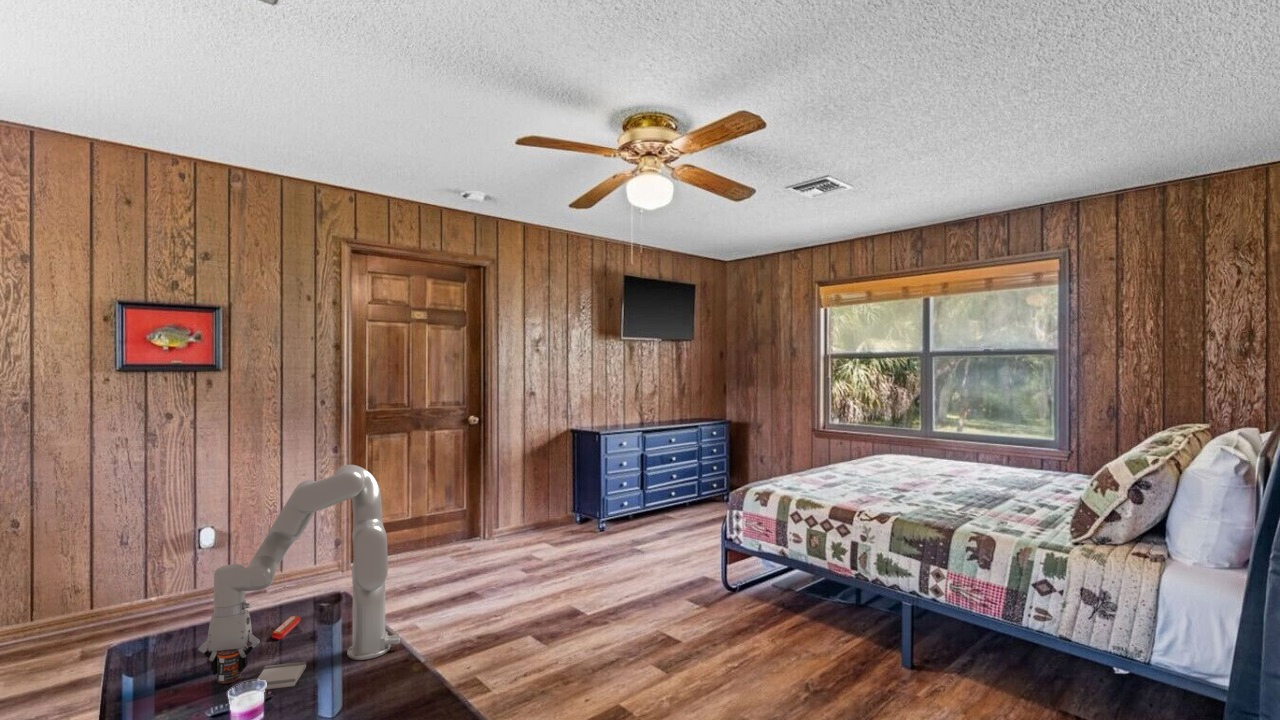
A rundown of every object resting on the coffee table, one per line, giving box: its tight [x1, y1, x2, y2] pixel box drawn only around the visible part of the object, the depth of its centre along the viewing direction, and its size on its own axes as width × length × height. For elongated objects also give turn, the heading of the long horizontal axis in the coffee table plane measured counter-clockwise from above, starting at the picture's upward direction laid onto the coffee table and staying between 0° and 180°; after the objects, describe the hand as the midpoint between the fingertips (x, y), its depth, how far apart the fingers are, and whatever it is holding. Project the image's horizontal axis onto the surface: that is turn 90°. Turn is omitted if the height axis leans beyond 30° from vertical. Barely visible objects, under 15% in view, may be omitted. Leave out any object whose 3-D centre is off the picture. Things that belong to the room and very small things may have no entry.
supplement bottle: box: [216, 649, 242, 685], centre depth 176 cm, size 6×6×11 cm
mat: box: [255, 661, 307, 690], centre depth 176 cm, size 11×11×2 cm
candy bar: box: [271, 615, 302, 640], centre depth 208 cm, size 16×4×3 cm, turn 6°
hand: (229, 670), depth 176 cm, fingers closed on supplement bottle, 6 cm apart
